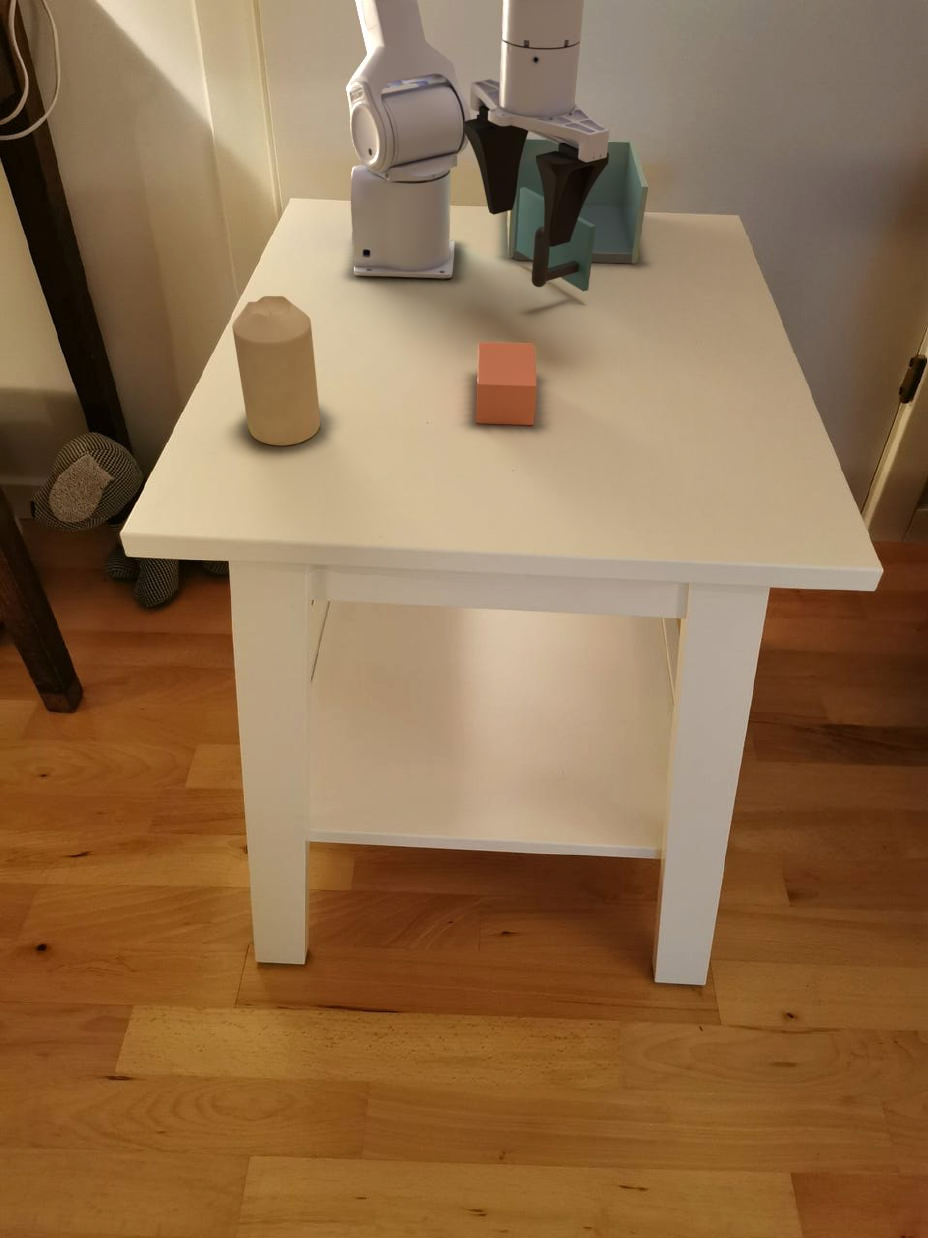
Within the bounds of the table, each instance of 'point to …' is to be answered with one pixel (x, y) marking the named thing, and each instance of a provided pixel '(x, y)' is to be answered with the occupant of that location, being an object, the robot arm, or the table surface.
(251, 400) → the candle
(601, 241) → the shower
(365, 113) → the robot arm
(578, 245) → the shower door
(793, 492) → the table surface
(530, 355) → the soap
